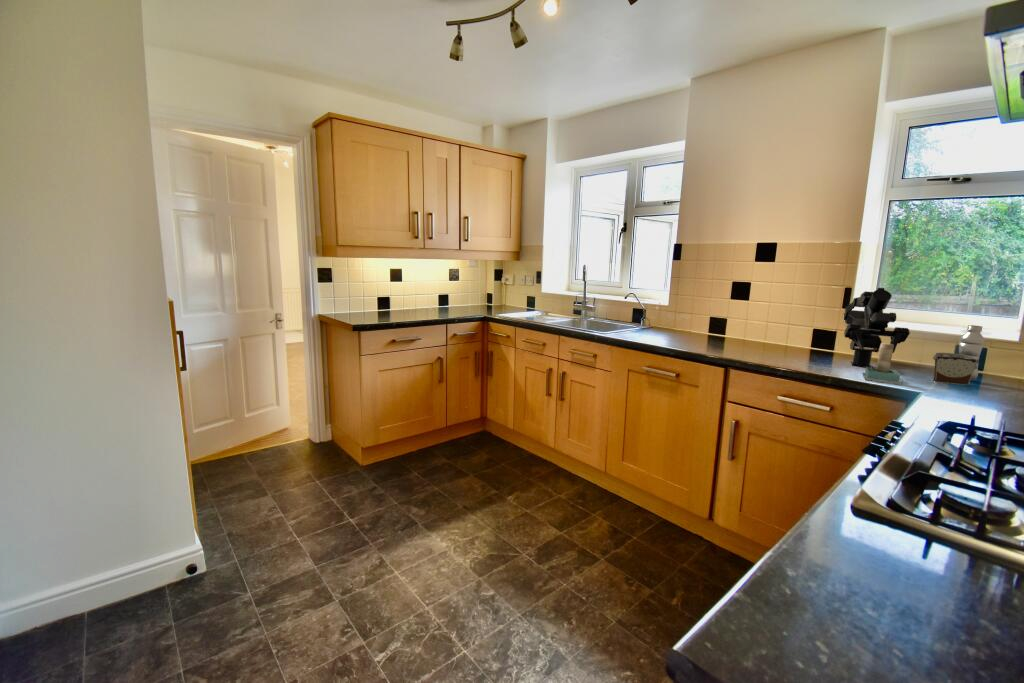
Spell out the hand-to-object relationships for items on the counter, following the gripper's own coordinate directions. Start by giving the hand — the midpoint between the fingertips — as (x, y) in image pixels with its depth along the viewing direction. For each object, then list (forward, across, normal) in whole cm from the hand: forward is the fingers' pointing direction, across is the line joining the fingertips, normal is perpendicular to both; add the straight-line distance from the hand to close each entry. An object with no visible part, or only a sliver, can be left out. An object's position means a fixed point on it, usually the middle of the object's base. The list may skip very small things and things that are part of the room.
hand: (877, 350), depth 170 cm
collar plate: (+12, 0, 0) cm, 12 cm away
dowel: (+12, 0, 0) cm, 12 cm away
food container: (+5, +22, +8) cm, 24 cm away
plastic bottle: (0, +29, +13) cm, 32 cm away
